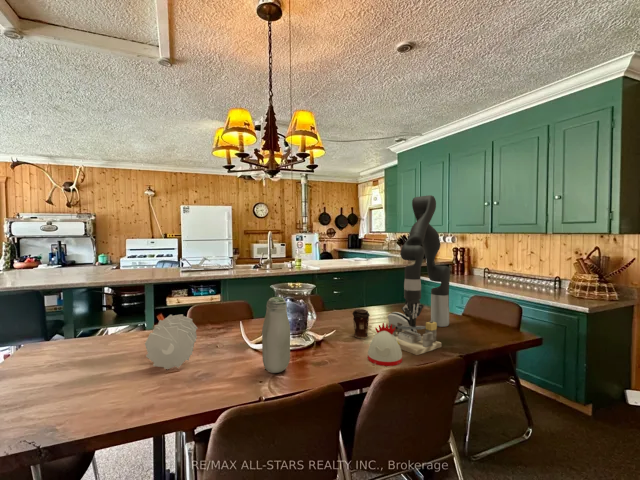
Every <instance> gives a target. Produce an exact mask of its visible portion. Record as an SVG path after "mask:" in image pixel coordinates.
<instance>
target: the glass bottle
mask: <svg viewBox="0 0 640 480" xmlns="http://www.w3.org/2000/svg"><path fill="white" fill-rule="evenodd" d="M287 306H288V303H287V302H286V300H285V298H284V297H283V296H273V297H270V298H269V299H268V300H267V301H266V306H265V307H266V312H265V316H264V321H263V324H262V328H261V329H262V330H261V347H262V349H261V350H262V351H261V352H262V355H261V356H262V363H263V367H264V368H265V370H266V371H267V372H269V373H271V374H279V373H282V372H283V371H284V370H286V369H287V367H288V366H289V363H290V360H291V325H290V320H289V317H288V310H287V309H288V307H287Z"/></svg>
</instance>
